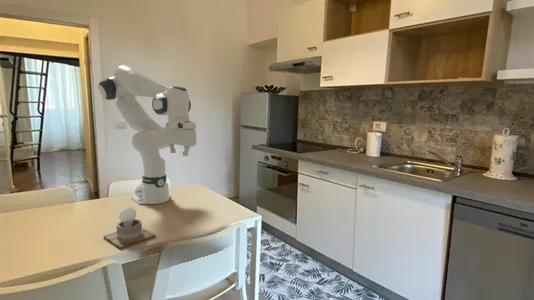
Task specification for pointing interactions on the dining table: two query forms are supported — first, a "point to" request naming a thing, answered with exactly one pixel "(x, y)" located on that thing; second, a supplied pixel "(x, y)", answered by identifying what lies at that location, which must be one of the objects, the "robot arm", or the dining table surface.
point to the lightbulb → (127, 216)
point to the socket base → (129, 242)
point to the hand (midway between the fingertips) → (179, 154)
